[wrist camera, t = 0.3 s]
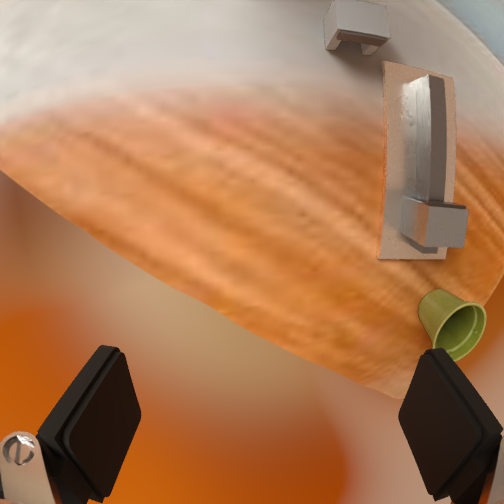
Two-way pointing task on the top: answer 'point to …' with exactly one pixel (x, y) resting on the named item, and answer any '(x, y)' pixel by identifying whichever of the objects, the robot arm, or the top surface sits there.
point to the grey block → (356, 25)
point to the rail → (419, 166)
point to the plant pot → (452, 322)
